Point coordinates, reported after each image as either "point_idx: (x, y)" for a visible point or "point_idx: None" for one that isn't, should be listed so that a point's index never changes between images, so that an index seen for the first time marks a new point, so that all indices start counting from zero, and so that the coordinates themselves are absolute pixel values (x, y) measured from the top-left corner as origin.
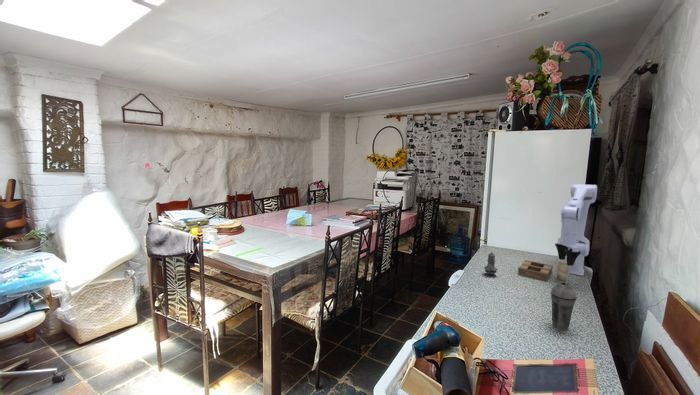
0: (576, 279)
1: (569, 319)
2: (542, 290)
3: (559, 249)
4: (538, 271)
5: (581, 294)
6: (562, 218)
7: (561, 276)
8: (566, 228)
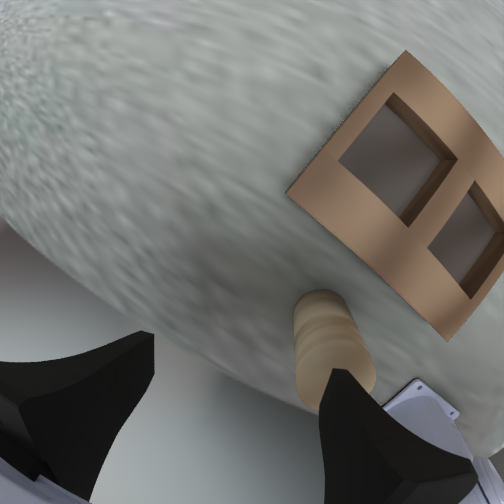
0: None
1: None
2: (149, 97)
3: (365, 452)
4: (410, 207)
5: (120, 286)
6: None
7: (302, 309)
8: None
